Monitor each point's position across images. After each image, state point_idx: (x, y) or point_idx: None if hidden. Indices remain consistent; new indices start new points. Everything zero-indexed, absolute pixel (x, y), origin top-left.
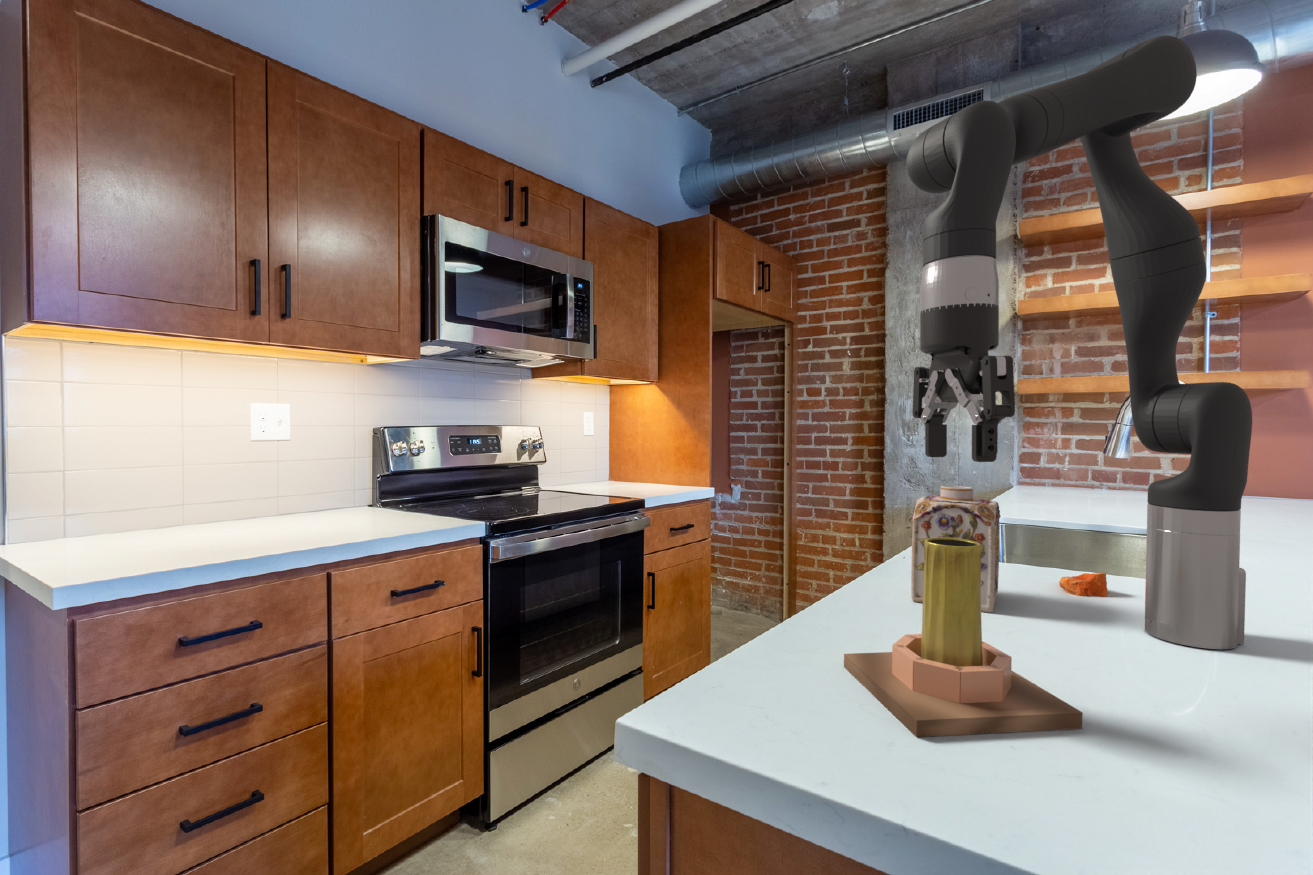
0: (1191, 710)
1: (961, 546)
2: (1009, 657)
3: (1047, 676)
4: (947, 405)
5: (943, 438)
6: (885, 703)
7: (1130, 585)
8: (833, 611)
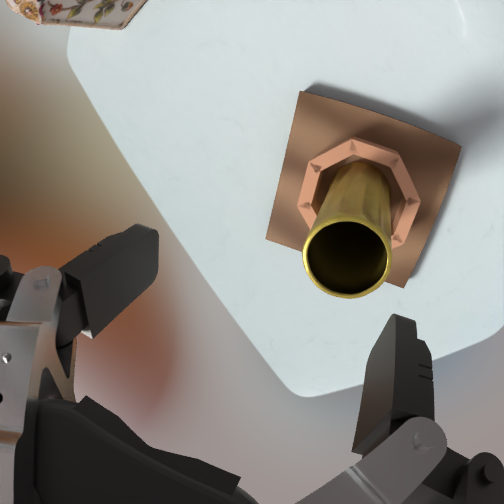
0: (463, 14)
1: (382, 281)
2: (400, 159)
3: (361, 52)
4: (54, 365)
5: (119, 265)
6: None
7: None
8: (130, 136)
